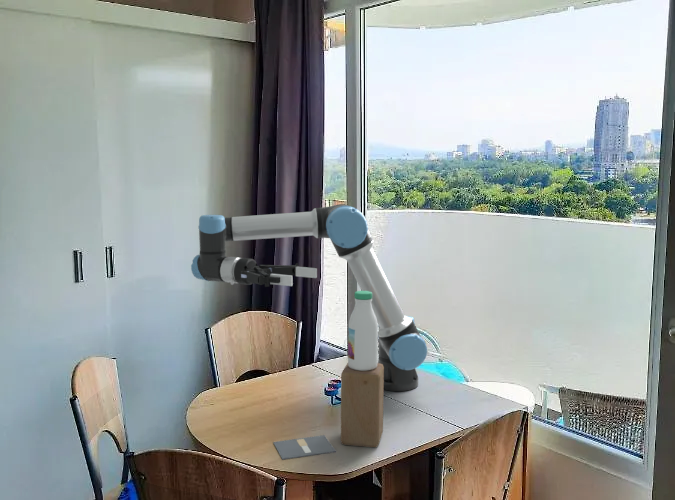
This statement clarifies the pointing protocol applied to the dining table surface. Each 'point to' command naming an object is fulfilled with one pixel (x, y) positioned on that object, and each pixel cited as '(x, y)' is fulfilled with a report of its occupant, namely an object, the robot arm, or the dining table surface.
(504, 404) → the dining table surface
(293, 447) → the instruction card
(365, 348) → the milk bottle
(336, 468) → the dining table surface
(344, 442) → the wooden block
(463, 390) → the dining table surface
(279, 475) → the dining table surface
